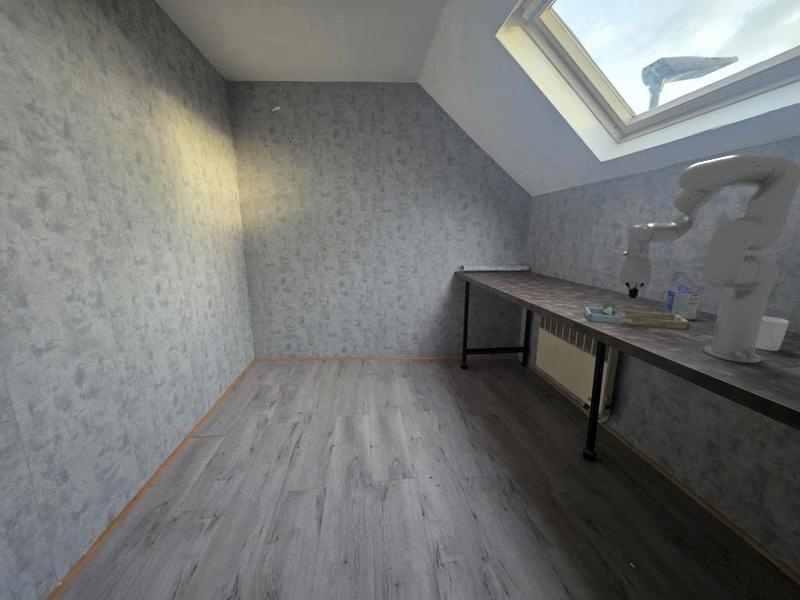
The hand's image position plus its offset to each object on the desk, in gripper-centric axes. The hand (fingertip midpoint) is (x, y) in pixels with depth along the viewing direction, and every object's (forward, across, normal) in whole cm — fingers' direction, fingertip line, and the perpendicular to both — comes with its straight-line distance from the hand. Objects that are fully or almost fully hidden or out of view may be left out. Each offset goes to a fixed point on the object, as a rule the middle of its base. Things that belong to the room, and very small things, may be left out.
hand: (632, 297), depth 139 cm
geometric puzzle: (+10, -8, +1) cm, 13 cm away
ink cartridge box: (+10, +22, +16) cm, 29 cm away
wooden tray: (+11, +9, +1) cm, 14 cm away
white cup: (+12, +34, -20) cm, 41 cm away
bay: (+10, -10, +2) cm, 14 cm away
